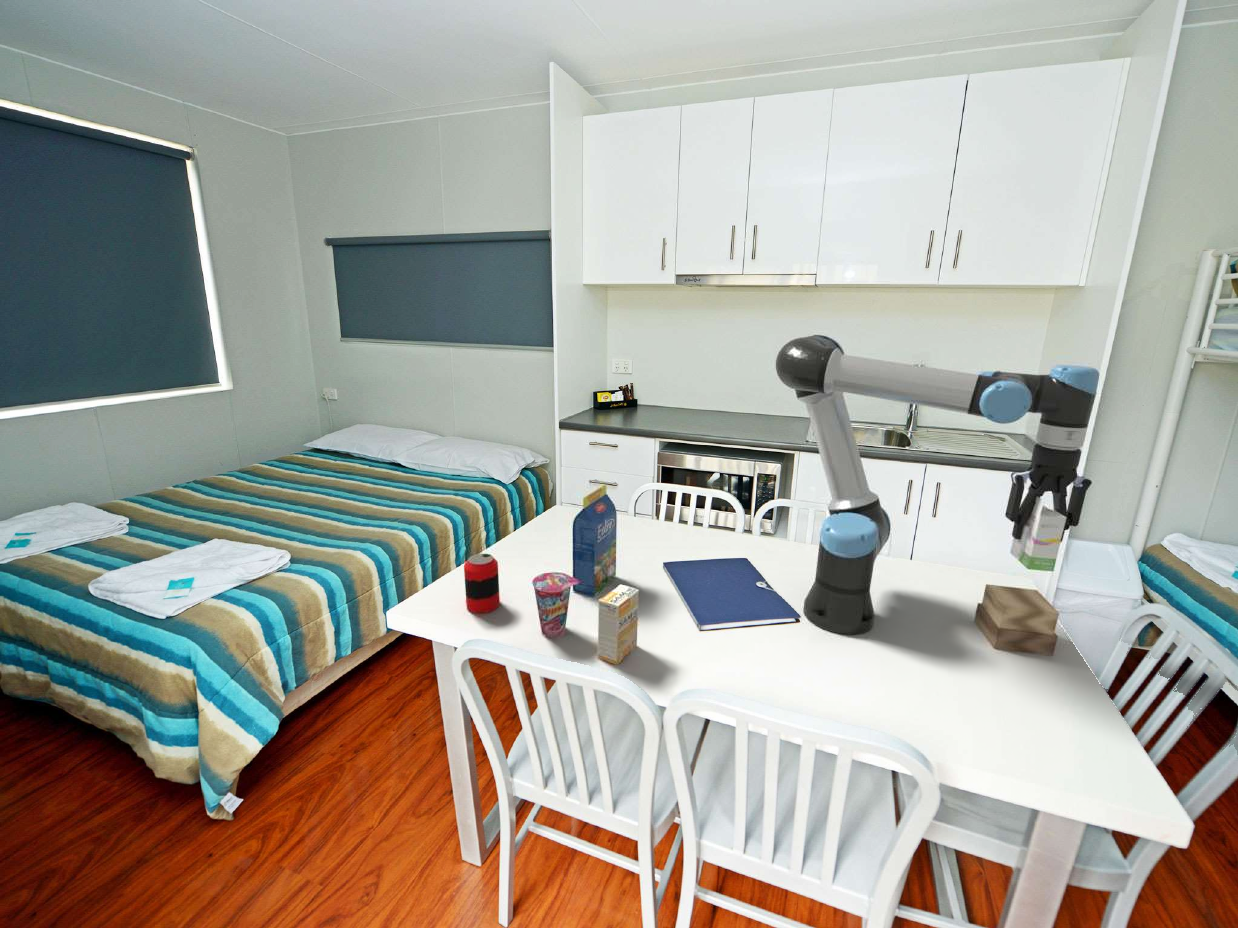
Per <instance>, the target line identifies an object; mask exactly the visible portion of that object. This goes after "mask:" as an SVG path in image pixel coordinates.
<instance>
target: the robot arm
mask: <svg viewBox="0 0 1238 928" xmlns="http://www.w3.org/2000/svg"><path fill="white" fill-rule="evenodd" d="M775 371H776V374H777V377H778V378H779V380H780V381H781V382H782V384H784V385H785V386H786V387H788V388H790V389H793V390H794V391H795V395H796V398H797V400H798V401H800V402H802V403H803V404H805V406H806V409H807V413H808V417H809V420H810V424H811V426H812V427H811V428H812V430H813V434H814V438H815V442H816V445H817V448H818V453H819V456H820V459H821V463H822V467H823V470H824V474H825V477H826V481H827V486H828V488H829V492H830V495H831V500H830V502H829V503H828V505H827V509H828V513H829V516H828V517H826V518H825V519H824V520H823V523H822V525H821V528H820V532H819V544H818V546H819V547H818V553H817V562H816V570H815V578H814V582H813V584H812V586H811V588H810V589H809V591H808V592H807V595H806V597H805V599H804V601H803V615H804V616H805V618H806V619H807V620H808V621H809V622H811V623H812V624H813V625H815V626H817V627H819V628H821V629H823V630H826V631H829V632H832V633H837V634H841V635H858V634H859V635H860V634H864V633H866V632H869V631H870V630H872V628H873V627H874V623H875V610H874V609H875V608H874V605H873V601H872V595H871V591H870V590H871V584H872V578H873V573H874V565H875V561H876V559H877V557H878V555H879V554H880V552H881V551H882V550H883V548H884V546H885V545H886V543H887V542H888V540H889V538H890V534H891V530H892V529H891V525H892V524H891V519H890V517H889V515H888V513H887V511H886V510H885V509H884V508H883V507H882V506H881V502H880V497H879V495H878V494H876V493H875V492H873V491H871V490H870V487H869V484H868V480H867V476H866V472H865V469H864V465H863V461H862V459H861V456H860V455H861V454H860V451H859V448H858V443H857V440H856V436H855V433H854V429H853V425H852V422H851V418H850V415H849V411H848V407H847V403H846V400H845V397H844V396H845V395H844V393H848V394H853V395H858V396H859V395H860V396H865V397H870V398H876V399H881V400H882V399H883V400H887V401H893V402H899V403H906V404H909V405H914V406H922V407H928V408H934V409H939V410H945V411H951V412H955V413H956V412H957V413H961V414H966V415H971V416H975V417H981V418H986V419H987V420H989V421H991V422H993V423H996V424H1002V425H1003V424H1006V425H1007V424H1011V423H1015V422H1017V421H1019V420H1020V419H1021V418H1022V419H1023V417H1024V416H1025V415H1026V414H1027V413H1031V414H1041V415H1040V419H1039V424H1038V427H1037V433H1036V437H1035V442H1037V443H1036V444H1034V445H1033V450H1032V455H1031V459H1030V461H1031V462H1030V466H1029V467H1028V468H1027V470H1026V471H1024V472H1016V471H1014V472H1011V474H1010V477H1011V482H1012V483H1011V488H1010V492H1009V496H1008V501H1007V505H1006V510H1005V514H1004V516H1005V518H1007V520H1009V521H1011V522H1012V523H1014V524H1013V528H1012V532H1011V535H1012V538H1013V537H1014V538H1015V543H1014V547H1013V551H1014V552H1015V553H1016V554H1017V555H1018V556H1023V553H1024V549H1025V544H1026V540H1027V535H1028V531H1029V526H1028V525H1027V524H1026V522H1027V521H1028V519H1029V517H1030V515H1031V513H1032V511H1033V509H1034V505H1035V504H1036V498H1037V496H1038V497H1039V498H1041V497H1043V496H1044V495H1045V492H1046V493H1047V492H1051V494H1052V503H1053V505H1052V506H1053V509H1054V510H1055V511H1057V512H1058V513H1060V514H1062V515H1063V516H1065V517H1066V521H1065V525H1064V529H1063V533H1062V537H1061V541H1060V544H1061V543H1062V542H1063V540H1064V536H1065V531H1068V530H1070V528H1071V527H1077V526H1078V525H1079V523H1080V519H1081V514H1082V510H1083V506H1084V501H1085V498H1086V494H1087V490H1088V489H1089V488H1090V486H1091V485H1092V483H1093V482H1092V480H1091V479H1089V478H1087V477H1085V476H1084V475H1083V476H1082V475H1078V471H1077V469H1078V467H1079V464H1080V460H1081V457H1082V453H1083V452H1082V450H1081V449H1080V448H1082V447H1083V446H1084V442H1085V439H1086V435H1087V431H1088V428H1089V423H1090V419H1091V415H1092V411H1093V407H1094V404H1095V400H1096V396H1097V393H1098V392H1097V391H1098V385H1099V380H1100V379H1099V378H1100V371H1098V369H1096V368H1095V367H1091V366H1084V365H1083V366H1082V365H1071V364H1069V365H1067V364H1066V365H1065V364H1061V365H1060V364H1057V365H1054V366H1052V367H1051V368H1050V372H1049V373H1048V374H1034V373H1033V374H1030V373H1020V372H1019V373H1018V372H1008V371H1000V370H996V371H981V372H979V373H978V374H977V373H971V372H970V373H969V372H963V371H955V370H951V369H950V370H949V369H942V368H936V367H931V366H930V367H929V366H923V365H916V364H910V363H902V362H896V361H889V360H888V361H887V360H881V359H877V358H876V359H874V358H867V357H862V356H853V355H850V354H849V355H848V354H845V351H844V349H843V347H842V346H841V344H840V342H838V341H837V340H835V339H834V338H832V337H829V336H826V335H823V334H814V335H808V336H804V337H798V338H794V339H792V340H790V341H788V342H787V343H785V344H784V345H783V346H782V347H781V349H780V350H779V351H778V354H777V356H776V359H775ZM1028 479H1029V481H1030V484H1029V486H1028V489H1027V490H1028V493H1027V495H1026V497H1025V499H1024V501H1023V502H1022V498H1023V494H1024V491H1025V485H1026V484H1027V481H1028ZM1071 484H1073V486H1072V488H1071V493H1070V497H1069V500H1068V505H1067V497H1068V490H1067V489H1068V486H1069V485H1071ZM1021 502H1022V504H1021Z"/></svg>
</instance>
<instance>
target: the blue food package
mask: <svg viewBox="0 0 1238 928" xmlns="http://www.w3.org/2000/svg"><path fill="white" fill-rule="evenodd" d="M582 499H583V501H582V502H583V504H582V505H583V507H582V509H581V510H580V511H579V512H578V513H577V514H576V515H575V517H574V518H573V522H572V577H573V578H575V579H577V580H578V581H579V583H578V584H575V585H573V586H572V592H574V593H577V594H582V595H584V596H585V595H586V596H590V597H595V596H596V595H598V594H600V592H602V590H603V589H604V588H606V587H607V585H608V584H611V582H612V581H613V579H614V578H615V577H616V576H617V525H618V524H617V523H618V521H617V520H618V519H617V517H618V516H617V508H616V506H615V503H614V502H613V500H612V499H611V497H609V494H607V483H605V484H604V485H601V486H600V487H599V488H597V489H596V490H594V491H592V492H590V493H589V494H587V495H586V496H584V497H583V498H582Z"/></svg>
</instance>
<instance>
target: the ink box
mask: <svg viewBox="0 0 1238 928" xmlns="http://www.w3.org/2000/svg"><path fill="white" fill-rule="evenodd" d="M1027 493H1028V489H1027V488H1026V489H1025V488H1024V492H1023V496H1022V500H1021V504H1022V502H1023V501H1024V499H1025V497H1026V495H1027ZM1021 504H1020V505H1021ZM1065 521H1066V517H1065V516H1063V515H1062V514H1060V513H1058V512H1057V511H1055V510H1054V508H1053V507H1051V506H1049V505H1048V504H1046V503H1045V500H1044V499H1042V498H1041V497H1040V498H1039V497H1038V496H1037V498H1036V504H1035V505H1034V509H1033V511H1032V513H1031V515H1030V517H1029V519H1028V521H1027V522H1026V524H1027V525H1028V526H1029V531H1028V535H1027V540H1026V544H1025V549H1024V553H1023V556H1018V555H1017V554H1016V553H1015V552H1014V551H1013V547H1014V543H1015V538H1014V537H1013V536H1012V538H1013V539H1012V543H1011V547H1010V551H1009V552H1010V554H1011V555H1012V556H1013V557H1014V558H1015V559H1017V561H1018V562H1020V563H1021V564H1022V566H1024V567H1025V568H1026V569H1027V570H1032V571H1040V572H1041V571H1042V572H1054V571H1055V566H1056V562H1057V558H1058V553H1059V549H1060V544H1061V543H1060V541H1061V537H1062V533H1063V529H1064V525H1065Z"/></svg>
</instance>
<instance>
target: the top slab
mask: <svg viewBox="0 0 1238 928" xmlns="http://www.w3.org/2000/svg"><path fill="white" fill-rule="evenodd" d="M981 603H982V605H983V607H984V608H985V609H986V611H987V612H988V613H989V615H990V616H991V618H992V619H993V620H994V622H995V623H996V624H997V626H998V627H999V628H1003V629H1011V630H1019V631H1027V632H1035V633H1042V634H1050V635H1054V632H1055V631H1056V627H1057V624H1058V623H1057V622H1058V620H1059V616H1060V612H1059V611H1058V610H1057V609H1056V608H1055V607H1054V606H1053V605H1052V604H1051V603H1050V602H1049V601H1048V599H1046V598H1045V597H1044V596H1043V594H1042V593H1041V592H1039V590H1037V589H1032V588H1031V589H1030V588H1022V587H1015V586H1004V585H996V584H985V586H984V592H983V598H982V602H981Z"/></svg>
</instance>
